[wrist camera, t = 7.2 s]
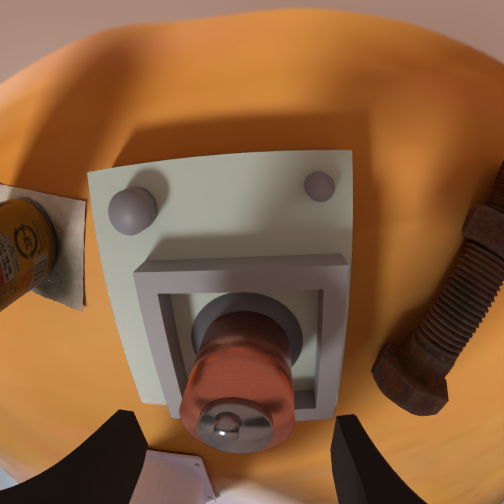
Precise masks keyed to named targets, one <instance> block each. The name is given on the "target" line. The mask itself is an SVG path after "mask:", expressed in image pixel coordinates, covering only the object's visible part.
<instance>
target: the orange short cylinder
mask: <svg viewBox="0 0 504 504" xmlns="http://www.w3.org/2000/svg"><path fill="white" fill-rule="evenodd" d="M179 415H180V419H181V422H182V424H183V426H184V427H185V428H186V430H187V431H188V432H189V433H190V434H191V435H192V436H193V437H194V438H196V439H197V440H199V441H200V442H202V443H204V444H206V445H208V446H210V447H213V448H215V449H217V450H220V451H223V452H228V453H235V454H246V453H253V452H259V451H264V450H267V449H270V448H272V447H275V446H277V445H278V444H280V443H282V442H283V441H284V440H285V439H286V438H287V437H288V436H289V435H290V434H291V432H292V430H293V428H294V425H295V411H294V395H293V381H292V367H291V354H290V343H289V339H288V336H287V334H286V332H285V330H284V329H283V328H282V327H281V326H280V324H279V323H277V322H276V321H275V320H273V319H272V318H270V317H268V316H266V315H264V314H261V313H258V312H253V311H235V312H230V313H227V314H224V315H222V316H220V317H218V318H217V319H215V320H214V321H213V322H212V323H211V324H210V325H209V326H208V328H207V329H206V331H205V334H204V337H203V339H202V342H201V345H200V348H199V351H198V354H197V357H196V360H195V363H194V366H193V368H192V371H191V374H190V377H189V380H188V383H187V386H186V389H185V392H184V395H183V398H182V401H181V404H180V407H179Z"/></svg>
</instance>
